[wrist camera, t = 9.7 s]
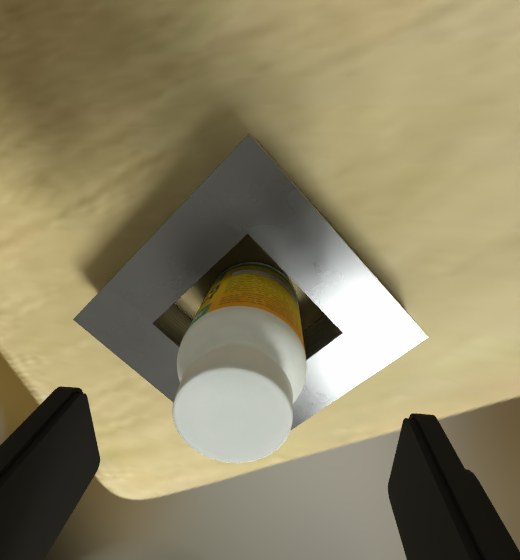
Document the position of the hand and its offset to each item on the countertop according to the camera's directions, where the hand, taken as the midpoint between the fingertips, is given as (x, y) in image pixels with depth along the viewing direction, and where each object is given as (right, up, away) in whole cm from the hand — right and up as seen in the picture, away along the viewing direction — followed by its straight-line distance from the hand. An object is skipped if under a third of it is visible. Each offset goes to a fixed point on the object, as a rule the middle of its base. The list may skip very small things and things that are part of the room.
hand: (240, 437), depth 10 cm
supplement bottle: (0, +3, +10) cm, 11 cm away
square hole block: (0, +3, +10) cm, 11 cm away
